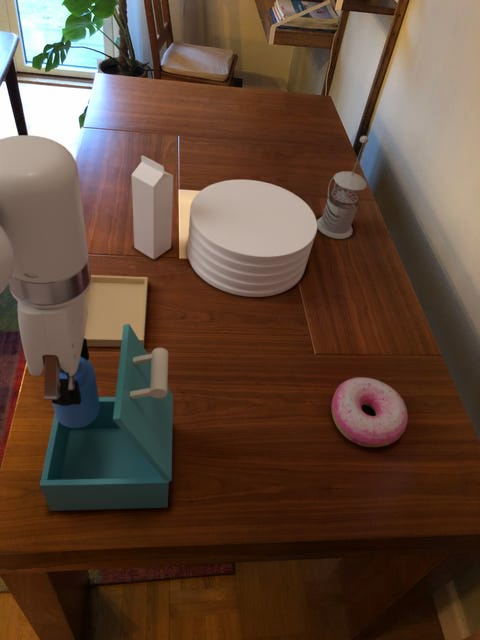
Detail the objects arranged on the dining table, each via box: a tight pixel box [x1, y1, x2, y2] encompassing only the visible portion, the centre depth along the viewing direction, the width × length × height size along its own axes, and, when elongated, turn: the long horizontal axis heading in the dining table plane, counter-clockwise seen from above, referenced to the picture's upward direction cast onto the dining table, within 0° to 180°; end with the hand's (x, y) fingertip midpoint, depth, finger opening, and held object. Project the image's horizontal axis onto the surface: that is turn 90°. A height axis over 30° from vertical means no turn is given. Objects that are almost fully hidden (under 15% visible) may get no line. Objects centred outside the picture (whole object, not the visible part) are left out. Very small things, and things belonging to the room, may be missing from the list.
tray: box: [84, 274, 149, 348], centre depth 94 cm, size 17×13×2 cm
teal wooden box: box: [39, 396, 170, 512], centre depth 71 cm, size 17×14×9 cm
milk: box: [131, 154, 174, 260], centre depth 102 cm, size 6×6×22 cm
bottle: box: [52, 356, 100, 428], centre depth 59 cm, size 6×6×12 cm
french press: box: [316, 135, 369, 240], centre depth 116 cm, size 10×12×25 cm
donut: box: [330, 376, 409, 448], centre depth 84 cm, size 14×13×5 cm
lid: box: [113, 324, 174, 482], centre depth 62 cm, size 17×14×5 cm
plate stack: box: [187, 179, 318, 298], centre depth 108 cm, size 28×28×12 cm
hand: (71, 379), depth 58 cm, fingers closed on bottle, 5 cm apart
